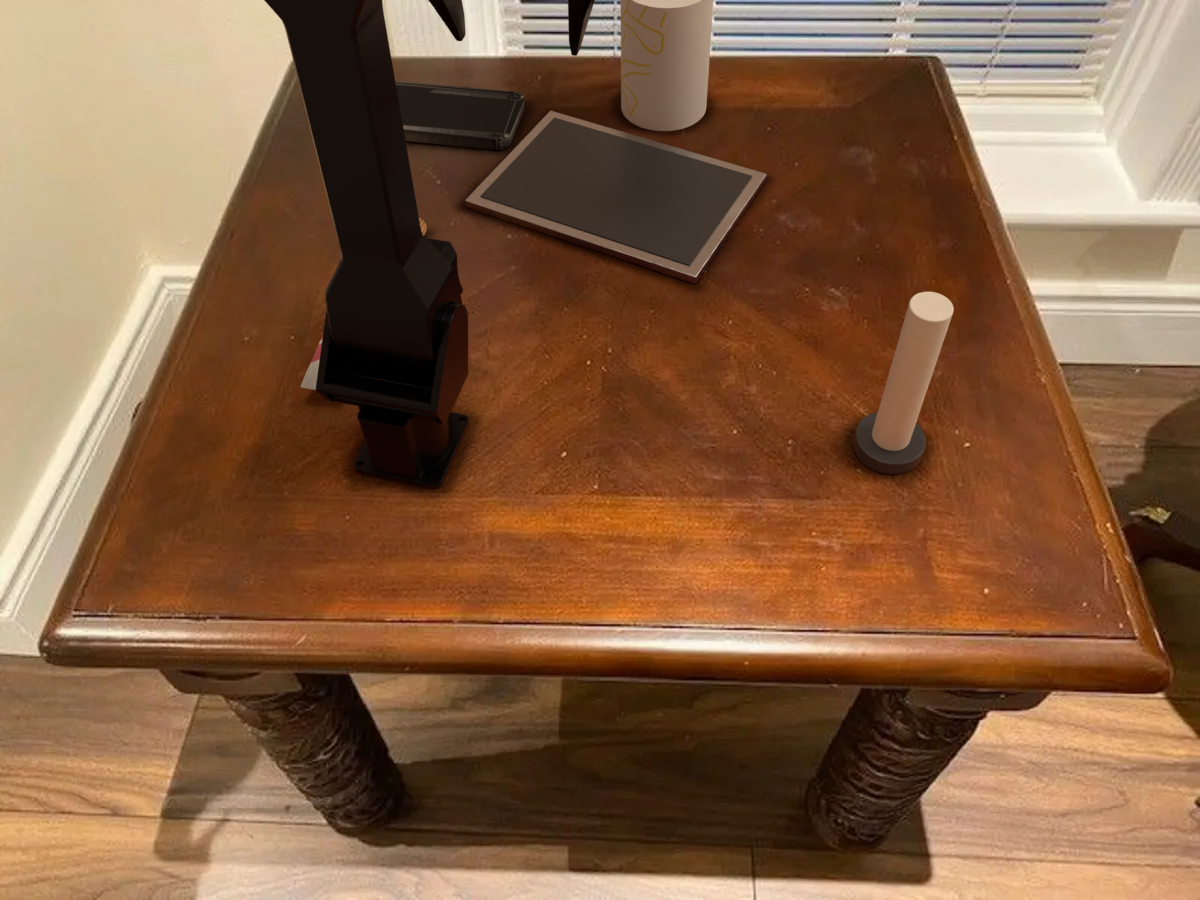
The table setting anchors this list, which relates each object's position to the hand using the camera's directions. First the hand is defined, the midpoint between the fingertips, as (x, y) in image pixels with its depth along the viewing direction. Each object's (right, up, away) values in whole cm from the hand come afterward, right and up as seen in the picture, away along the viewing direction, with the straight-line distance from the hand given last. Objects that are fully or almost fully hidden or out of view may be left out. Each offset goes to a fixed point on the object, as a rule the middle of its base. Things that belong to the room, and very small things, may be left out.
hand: (518, 45), depth 79 cm
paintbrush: (-12, -20, +3) cm, 24 cm away
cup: (+12, +2, +20) cm, 24 cm away
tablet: (+8, -8, +12) cm, 16 cm away
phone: (-9, 0, +19) cm, 21 cm away
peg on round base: (+26, -31, -6) cm, 41 cm away
